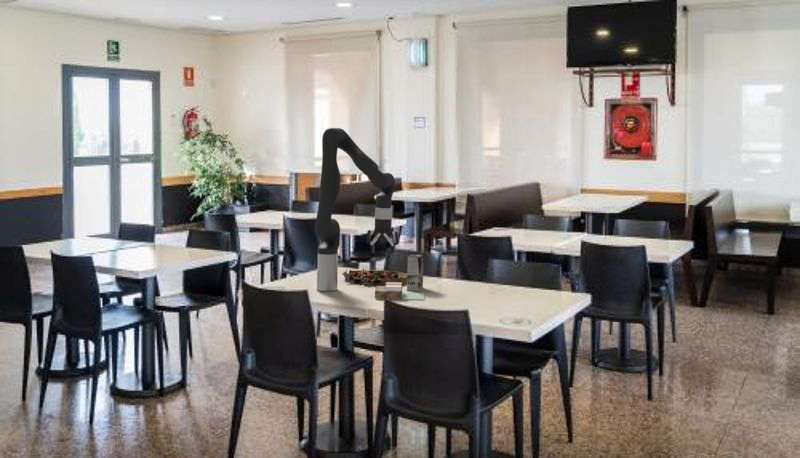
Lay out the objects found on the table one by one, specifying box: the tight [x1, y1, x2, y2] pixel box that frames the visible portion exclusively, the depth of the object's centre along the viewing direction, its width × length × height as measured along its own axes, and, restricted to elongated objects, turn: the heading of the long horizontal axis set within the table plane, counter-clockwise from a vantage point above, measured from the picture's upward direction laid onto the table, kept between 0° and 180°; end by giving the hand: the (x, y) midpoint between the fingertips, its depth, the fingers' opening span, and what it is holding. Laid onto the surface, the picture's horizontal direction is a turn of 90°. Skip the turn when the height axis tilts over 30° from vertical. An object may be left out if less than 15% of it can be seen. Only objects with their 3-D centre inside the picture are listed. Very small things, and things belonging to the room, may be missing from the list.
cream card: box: [386, 285, 403, 291], centre depth 372 cm, size 7×4×2 cm, turn 89°
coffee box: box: [406, 253, 424, 292], centre depth 394 cm, size 9×6×16 cm
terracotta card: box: [386, 282, 403, 290], centre depth 379 cm, size 7×4×2 cm, turn 89°
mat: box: [402, 292, 425, 301], centre depth 376 cm, size 10×14×1 cm
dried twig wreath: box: [341, 267, 407, 287], centre depth 413 cm, size 35×33×8 cm
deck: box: [374, 286, 403, 300], centre depth 376 cm, size 12×12×4 cm
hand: (382, 253), depth 373 cm, fingers open, 8 cm apart
